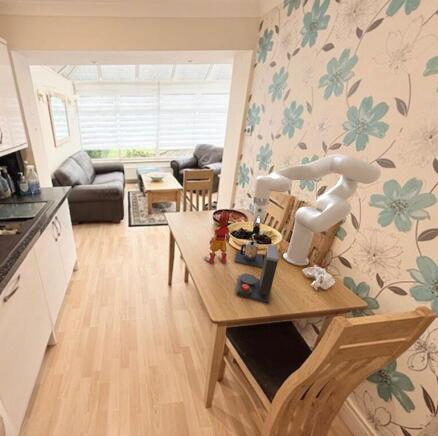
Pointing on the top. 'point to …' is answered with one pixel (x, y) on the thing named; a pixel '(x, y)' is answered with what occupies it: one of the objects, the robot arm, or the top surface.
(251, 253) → the kettle
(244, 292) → the coffee maker
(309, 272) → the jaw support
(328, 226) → the robot arm
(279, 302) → the top surface
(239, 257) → the plate
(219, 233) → the toy
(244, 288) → the power button
